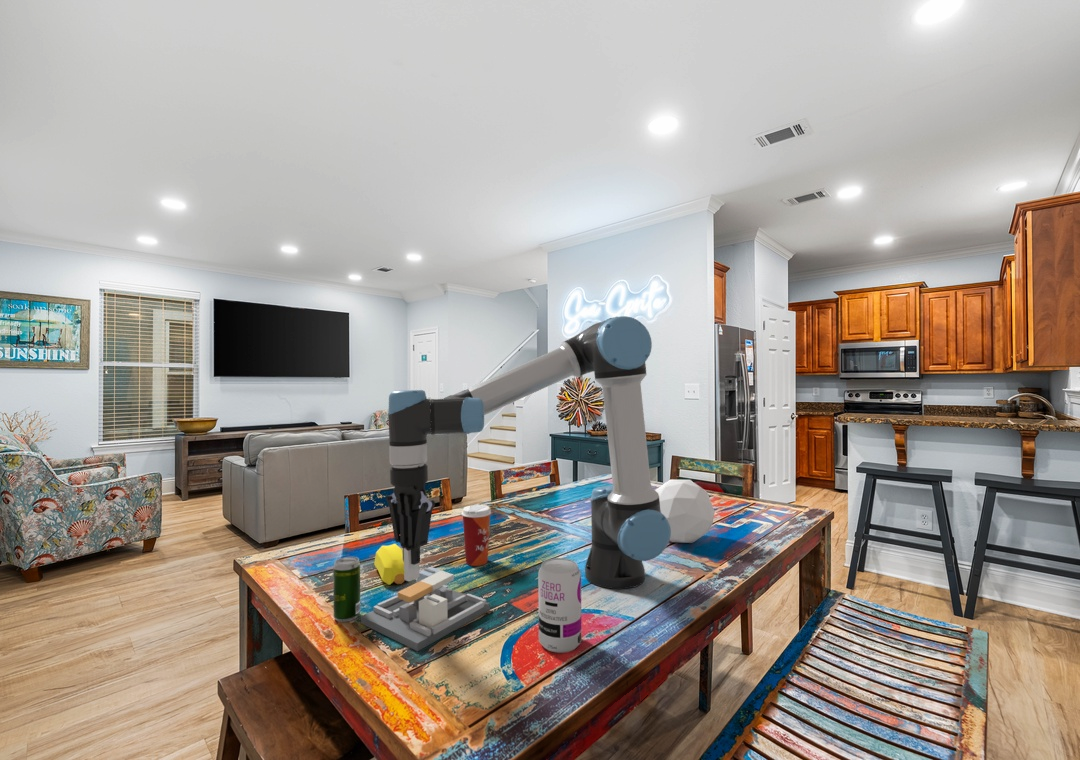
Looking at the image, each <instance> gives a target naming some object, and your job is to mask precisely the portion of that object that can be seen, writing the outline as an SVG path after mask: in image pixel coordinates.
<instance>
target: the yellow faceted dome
mask: <svg viewBox="0 0 1080 760" xmlns="http://www.w3.org/2000/svg"><path fill="white" fill-rule="evenodd" d="M373 565H374V567H375V568H376V569H377V570H378V571H377V572H378V574H379V575H380V579H381V581H382V582H384V583H385V584H386V585H387V586H390V585H391V584H393V583H395V584H397V585H402V584H403V583H404V582H405V580H404V562H403V548H402V547H401V546H399V545H397V544H396V543H393V544H389V545H381V546H380V547H379V549H377V551H376V552H375V557H374V564H373Z"/></svg>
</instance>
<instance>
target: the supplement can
mask: <svg viewBox="0 0 1080 760" xmlns="http://www.w3.org/2000/svg"><path fill="white" fill-rule="evenodd" d="M537 574H538V580H537V581H538V582H537V583H538V588H537V589H538V594H537V595H538V642H539V643H540V645H541V646H543V648H544V649H545V650H547V651H549V652H553V653H556V654H557V653H559V654H562V653H563V654H564V653H570V652H572V651H574V650H575V649H576V648H578V646H579V645H581V642H582V573H581V570H580V567H579V565H578V563H577V562H576V561H574V560H572V559H569V558H561V557H560V558H557V557H555V558H550V559H545V560H544V561H542V562H541V566H540V568H539V570H538V573H537Z"/></svg>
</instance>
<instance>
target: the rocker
mask: <svg viewBox="0 0 1080 760" xmlns="http://www.w3.org/2000/svg"><path fill="white" fill-rule="evenodd" d="M454 579H455V578H454V573H449V572H447V571H444V570H442V571H439V572H437V573H435V574H433V575H431V576H429V577H427V578H425V579H423V580H421V581H419V582H417V581H416V583H413V584H411V585H409V586H408V587H405V588H402V589H401V590H398V591H397V593H396V594H397V595H398V598H399V599H402V600H404V601H406V602H409V603H411V602H413V601H415V600H417V599H419V598H421V597H423V596H425V595H426V594H428V593H431V592H434V591H435V590H436V589H438V588H440V587H441V586H443V585H447V584H448V583H451V582H453V581H454Z"/></svg>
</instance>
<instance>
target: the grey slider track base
mask: <svg viewBox="0 0 1080 760" xmlns="http://www.w3.org/2000/svg"><path fill="white" fill-rule="evenodd" d="M433 594H435V595H438V596H441V597H443V598H446V599H447V614H448V619H447V620H445V621H443V622H442V623H440V624H438V625H436V626H434V627H432V628H431V629H430V628H428V627H425V626H423V625H421V624H419V601H420V600H422V599H424V598H427V597H429V596H431V595H433ZM490 604H491V603H490V602H487V599H485V598H482V597H479V596H477V595H474V594H471V593H467V594H465V593H462V592H459V591H457V590H454V589H451V588H449V586H448V585H447V584H445V585H443V586H442V587H441V588H439V589H436V591H434V592H431V593H430V594H428V595H425V596H423V597H421V598H419V599H417V600H415V601H413V602H411V603H409V602H406V601H404V600H402V599H399V598H398V594H396V595H394V596H392V597H390V598H387V599H386V600H383V601H380V602H378V603H377V604H376V605H374V606H373V608H372V611H370V612H367V613H364V614H362V615H360V624H361V625H363V626H365V627H367V628H368V629H369V628H370V629H371V630H373V631H375V632H378V633H380V634H381V635H384V636H386V637H388V638H389V639H392V640H393V641H396V642H398V643H400V644H402V645H404V646H406V647H408V648H410V649H412V650H413V651H416V652H420V651H421V650H422V649H424V648H426V647H428V646H429V645H431V644H433V643H434V642H436V641H439V640H440V639H441V638H443V637H445V636H447V635H449V634H450V633H451V634H452V632H454V631H456V630H457V629H459V628H461V627H462V626H464V625H467V624H468V623H469V622H472V621H474V620H475V619H477V618H478V617H480V616H482V615H483V614H485V613H487V612H490V610H491V609H490V608H491V607H490V606H491V605H490Z"/></svg>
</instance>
